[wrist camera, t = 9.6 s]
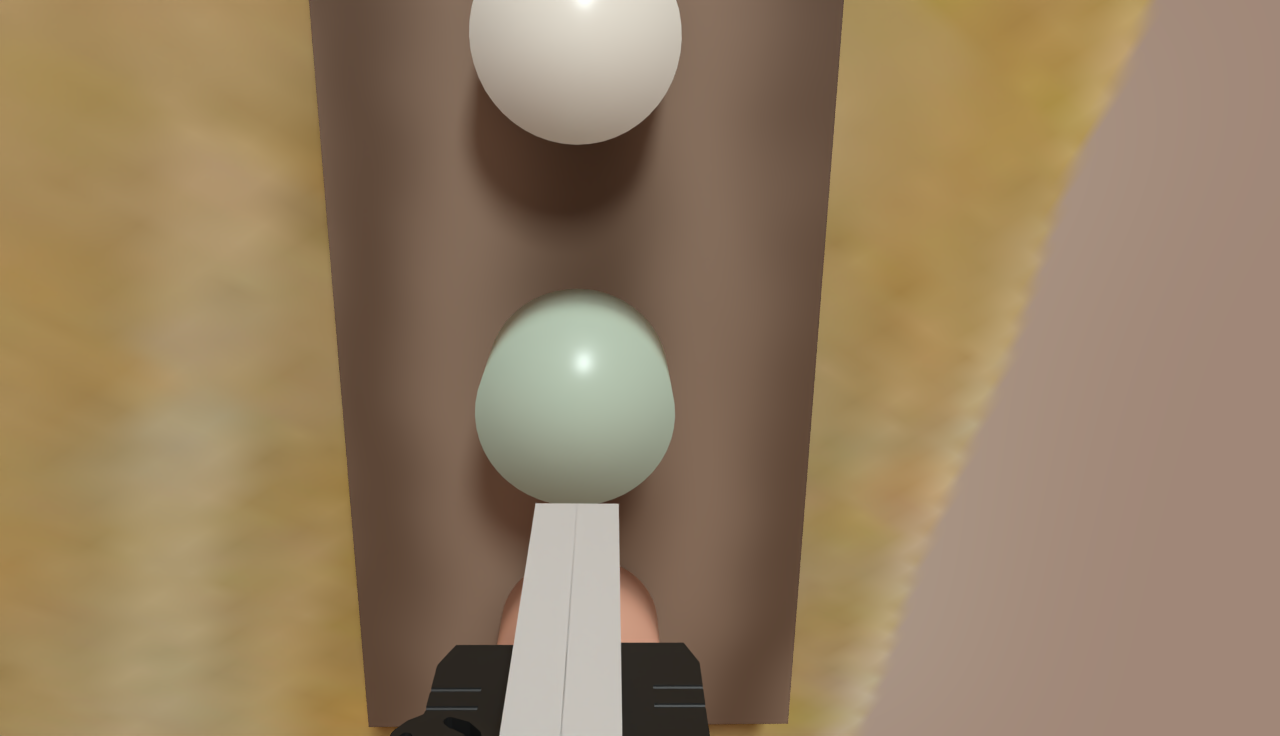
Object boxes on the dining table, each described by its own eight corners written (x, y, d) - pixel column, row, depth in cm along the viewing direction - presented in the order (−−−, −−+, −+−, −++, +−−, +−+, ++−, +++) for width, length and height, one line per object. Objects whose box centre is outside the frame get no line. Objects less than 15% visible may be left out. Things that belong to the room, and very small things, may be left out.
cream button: (486, 130, 28) (472, 143, 25) (479, -71, 26) (464, -82, 23) (670, 132, 28) (678, 146, 25) (676, -67, 26) (685, -77, 23)
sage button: (490, 458, 29) (478, 506, 26) (484, 287, 28) (471, 319, 25) (665, 458, 29) (672, 506, 27) (670, 289, 28) (678, 320, 25)
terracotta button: (503, 691, 34) (494, 754, 31) (499, 556, 32) (488, 609, 29) (655, 690, 34) (660, 752, 31) (659, 556, 32) (665, 608, 29)
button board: (386, 672, 37) (369, 726, 34) (328, -124, 28) (297, -140, 26) (773, 669, 37) (787, 723, 35) (829, -113, 29) (853, -126, 26)
